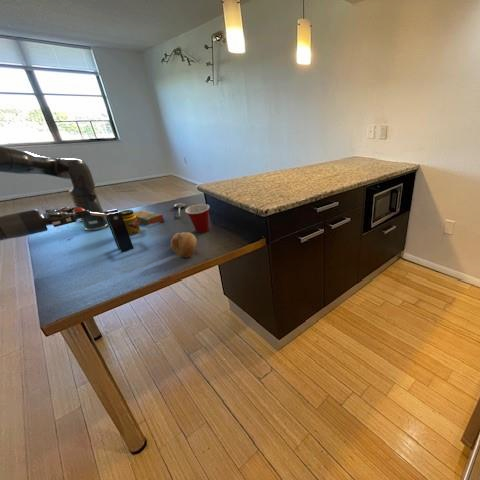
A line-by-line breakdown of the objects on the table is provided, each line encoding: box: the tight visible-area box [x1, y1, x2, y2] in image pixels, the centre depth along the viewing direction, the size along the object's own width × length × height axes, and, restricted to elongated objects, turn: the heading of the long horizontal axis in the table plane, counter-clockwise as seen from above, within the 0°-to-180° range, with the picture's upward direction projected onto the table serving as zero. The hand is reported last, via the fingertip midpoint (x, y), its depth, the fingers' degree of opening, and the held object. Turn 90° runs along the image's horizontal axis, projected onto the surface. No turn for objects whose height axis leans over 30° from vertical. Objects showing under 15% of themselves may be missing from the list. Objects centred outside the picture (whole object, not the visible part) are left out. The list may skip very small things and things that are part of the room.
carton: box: [133, 209, 165, 226], centre depth 136 cm, size 8×16×4 cm, turn 64°
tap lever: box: [73, 207, 113, 217], centre depth 98 cm, size 13×4×4 cm, turn 140°
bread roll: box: [170, 231, 198, 258], centre depth 108 cm, size 10×15×8 cm, turn 25°
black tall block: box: [103, 208, 135, 253], centre depth 105 cm, size 12×9×18 cm
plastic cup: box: [184, 203, 210, 234], centre depth 125 cm, size 11×11×12 cm
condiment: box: [120, 209, 142, 236], centre depth 119 cm, size 7×8×12 cm
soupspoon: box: [174, 202, 187, 219], centre depth 150 cm, size 22×3×7 cm
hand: (87, 210), depth 95 cm, fingers open, 6 cm apart
